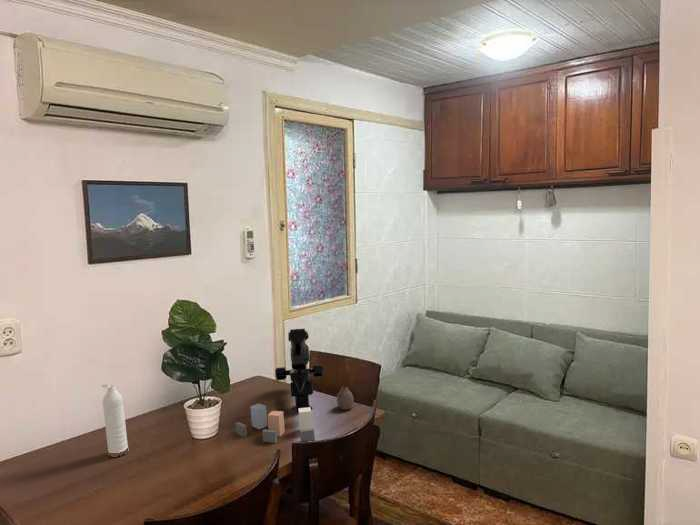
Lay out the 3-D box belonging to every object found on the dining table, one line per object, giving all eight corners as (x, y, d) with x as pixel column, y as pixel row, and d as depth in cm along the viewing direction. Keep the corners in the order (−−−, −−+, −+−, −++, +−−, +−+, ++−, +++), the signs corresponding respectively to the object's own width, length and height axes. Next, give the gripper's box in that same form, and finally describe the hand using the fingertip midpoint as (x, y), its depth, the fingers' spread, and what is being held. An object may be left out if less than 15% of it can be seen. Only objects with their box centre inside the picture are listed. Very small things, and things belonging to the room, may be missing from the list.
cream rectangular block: (299, 428, 201) (298, 408, 200) (311, 427, 201) (310, 407, 200) (300, 433, 197) (298, 412, 196) (312, 431, 197) (311, 411, 196)
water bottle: (131, 452, 189) (124, 385, 186) (113, 460, 184) (105, 390, 181) (120, 446, 195) (113, 380, 192) (102, 452, 190) (95, 385, 187)
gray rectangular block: (260, 422, 208) (258, 403, 207) (267, 425, 205) (265, 406, 204) (252, 426, 205) (250, 406, 204) (259, 429, 202) (257, 409, 201)
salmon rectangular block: (273, 430, 200) (272, 410, 199) (284, 431, 199) (283, 411, 198) (269, 435, 196) (267, 414, 195) (280, 436, 195) (278, 415, 194)
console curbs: (230, 438, 196) (229, 428, 196) (237, 431, 201) (236, 421, 201) (310, 446, 186) (309, 435, 186) (316, 439, 192) (315, 428, 191)
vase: (354, 404, 222) (353, 384, 221) (353, 411, 215) (351, 390, 214) (338, 404, 222) (337, 384, 221) (336, 411, 216) (334, 390, 215)
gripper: (273, 348, 208) (274, 384, 198) (321, 344, 209) (324, 380, 199) (276, 361, 216) (276, 397, 207) (322, 358, 218) (324, 393, 208)
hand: (300, 392), depth 205 cm, fingers closed
